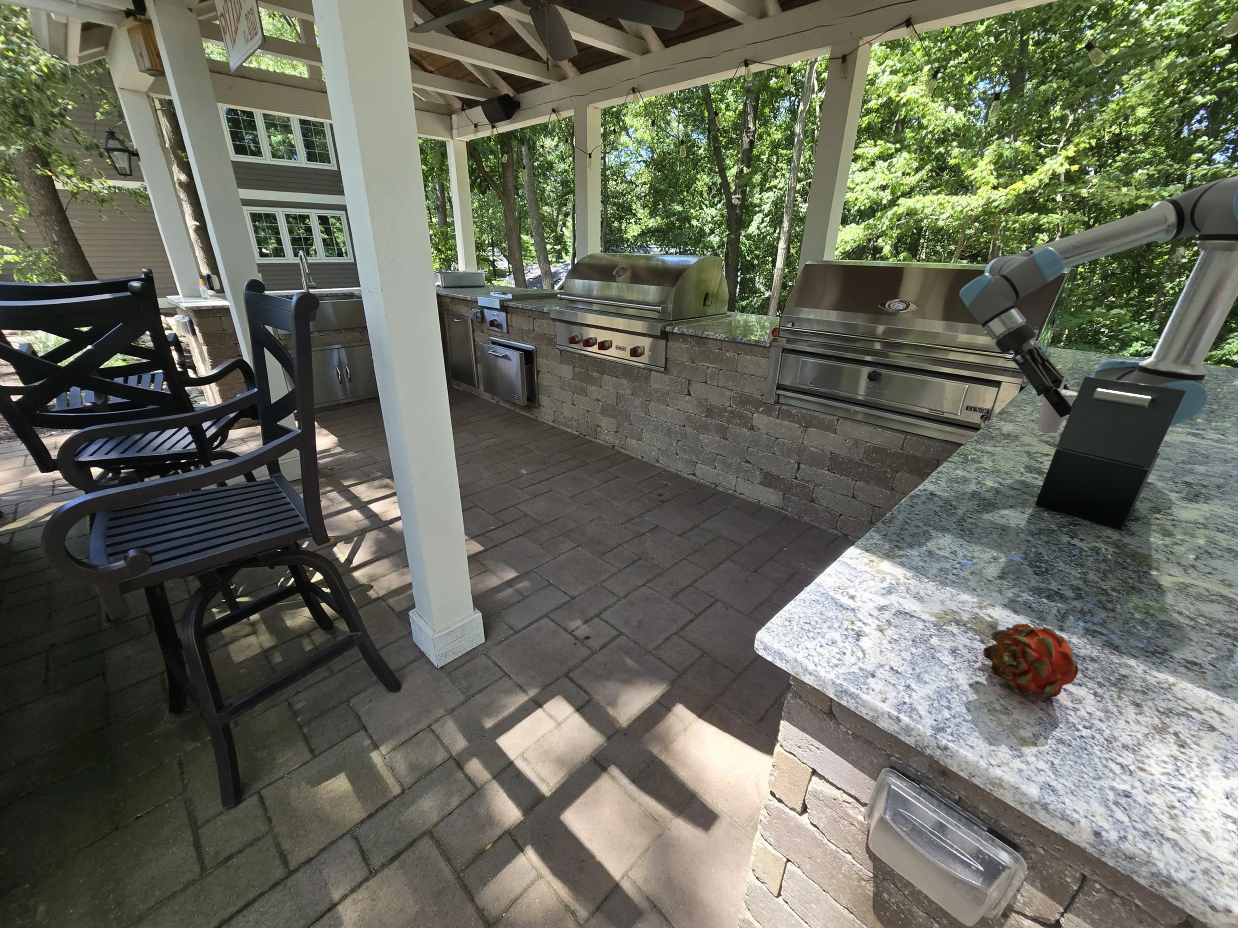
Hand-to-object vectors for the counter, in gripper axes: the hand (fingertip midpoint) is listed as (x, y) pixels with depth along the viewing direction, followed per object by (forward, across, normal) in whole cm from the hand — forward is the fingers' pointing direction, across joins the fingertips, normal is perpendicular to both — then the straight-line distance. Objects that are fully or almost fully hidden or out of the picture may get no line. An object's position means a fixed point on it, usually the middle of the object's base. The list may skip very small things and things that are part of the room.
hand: (1071, 411), depth 116 cm
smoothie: (+2, 0, -6) cm, 6 cm away
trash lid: (+3, +23, +11) cm, 26 cm away
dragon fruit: (+22, +83, 0) cm, 86 cm away
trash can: (+18, +18, -4) cm, 25 cm away
